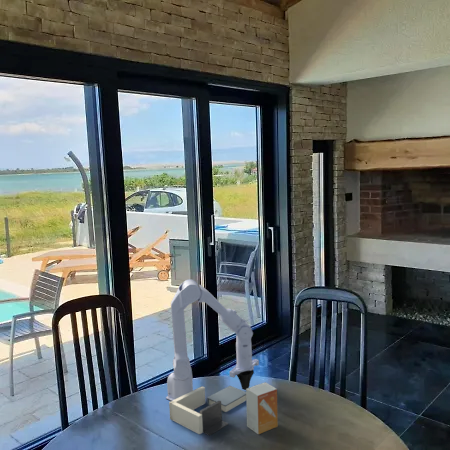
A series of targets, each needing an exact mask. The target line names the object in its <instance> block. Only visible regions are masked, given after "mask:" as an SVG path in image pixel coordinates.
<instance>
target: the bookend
mask: <svg viewBox="0 0 450 450" xmlns="http://www.w3.org/2000/svg"><path fill="white" fill-rule="evenodd" d="M199 413H200V414H202V424H203V433H202V434H205V435H207V436H212V435H214V434H215V433H216V432H219V431H220V430H222V429H223V428H225V427H226V426H228V425H229V423H228V422H226V421H225V420H223V415H222V413H223V411H222V410H221V401H217V402H215V403H213V404H211V405H207V406H206V407H204V408H202V409H200V410H199Z"/></svg>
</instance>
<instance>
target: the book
mask: <svg viewBox="0 0 450 450" xmlns="http://www.w3.org/2000/svg"><path fill="white" fill-rule="evenodd" d="M217 401H221V411H222V412H225V413H227V412H229V411H231V410H233V409H234V408H236V407H237V406H239V405H241V404H242V403H244V402H246V390H243V389H240V388H237V387H234V386H232V385H229V386H226V387H225V388H223V389H220V390H219V391H217V392H215V393H213V394H210V395H209V396H207V397H206V403H207V406H209V405H211V404H213V403H215V402H217Z"/></svg>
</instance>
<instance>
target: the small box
mask: <svg viewBox="0 0 450 450" xmlns="http://www.w3.org/2000/svg"><path fill="white" fill-rule="evenodd" d="M245 392H246V401H245V402H246V403H245V404H246V426H247V428H248V429H250V430H252V431H253V432H254V433H256V434H257V435H260V434H263V433H265V432H268V431H271V430H273V429H276V428H278V426H279V423H278V422H279V421H278V389H277V387H275V386H273V385H271V384H269V383H268V382H266V381H265V382H262V383H259V384H256V385H253V386H251V387H250V386H249V388H247V389H246V390H245Z"/></svg>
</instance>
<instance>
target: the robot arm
mask: <svg viewBox="0 0 450 450" xmlns="http://www.w3.org/2000/svg"><path fill="white" fill-rule="evenodd" d="M195 302H198V303H205V304H207V306H209V307H210V308H212V310H213V311H215V312H216V313H217V314H218V315H219V319H220V321H221V323H223V324H224V325H225V326H227V328H228V329H229V330H230V331H232V332H234V334H235V336H236V340H235V341H236V342H235V351H236V354H235V355H236V365H235V366H234V367H233V368H232V369H231V370H229V372H228V373H229V377H231V378H236V377H237V379H238V380H239V383H240V386H241V390H243V391H246V389H247V388H250V383H251V380H252V377H253V375H254V374H255V367H256V366H259V365H260V363H259V362H260V361H259V359H257V358H253V351H252V346H253V345H252V337H253V335H254V332H253V329H252V327H251V326H250V324H249V323H248V322H247V321H246V319H245V318H242V317H241V316H240V315H239V314H237V313H238V311H237V310H236V309H235V308H234V309H232V308H231V307H230V308H226V307H225V306H224V305H223V304H222V303H221V302H219V300H218V299H217V298H216V297H214V295H213V294H212V293H211V292H209V290H207V289H206V288H205V287H204V286H202V285H201V284H198V282H197V281H196V280H195V279H191V278H190V279H189V278H188V279H186V280H184V281H183V282H181V284H179V286H178V288H177V290H176V292H175V294H174V296H173V298H172V300H171V302H170V311H171V313H170V314H171V321H172V322H171V324H172V334H173V335H172V336H173V346H174V356H173V359H172V366H173V372H171V373H170V374H169V375H168V377H167V381H166V384H167V385H166V388H167V396H166V397H165V399H167V400H169V401H170V402H171V401H173V400H175V399H177V398H179V397H181V396H183V395H185V394H187V393H189V392H191V391H193V390H194V386H193V371H192V367H191V362H190V358H189V356H188V347H187V346H188V345H187V344H188V343H187V334H186V320H185V309H186V308H188V306H189V305H191V304H193V303H195Z"/></svg>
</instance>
